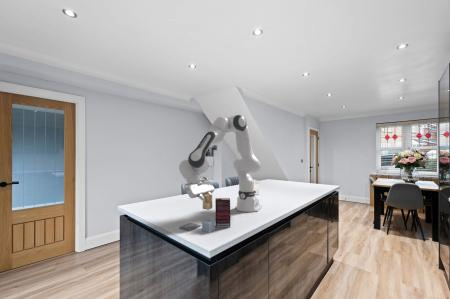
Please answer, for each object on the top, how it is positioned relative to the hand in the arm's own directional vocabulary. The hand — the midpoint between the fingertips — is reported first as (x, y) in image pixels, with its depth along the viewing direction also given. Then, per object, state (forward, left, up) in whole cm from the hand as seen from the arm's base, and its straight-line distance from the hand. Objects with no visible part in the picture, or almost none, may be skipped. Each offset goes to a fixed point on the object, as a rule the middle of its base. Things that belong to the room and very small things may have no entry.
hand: (208, 200), depth 120 cm
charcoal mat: (+8, -7, -15) cm, 18 cm away
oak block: (0, -1, -5) cm, 5 cm away
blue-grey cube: (+6, +5, -15) cm, 17 cm away
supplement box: (-4, +8, -15) cm, 17 cm away
